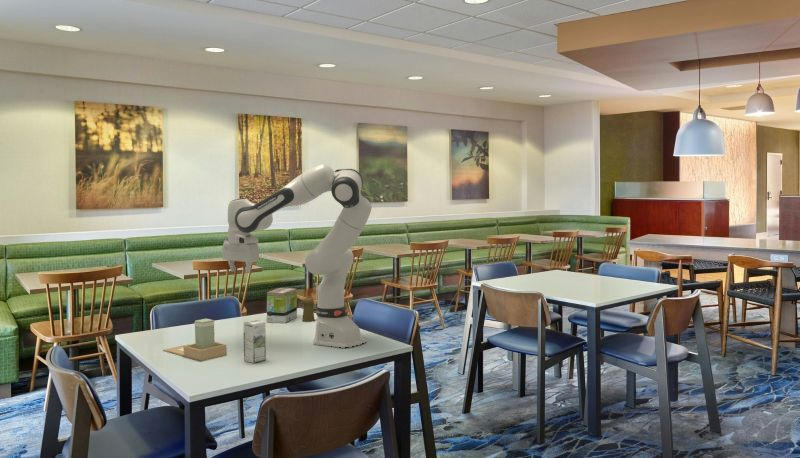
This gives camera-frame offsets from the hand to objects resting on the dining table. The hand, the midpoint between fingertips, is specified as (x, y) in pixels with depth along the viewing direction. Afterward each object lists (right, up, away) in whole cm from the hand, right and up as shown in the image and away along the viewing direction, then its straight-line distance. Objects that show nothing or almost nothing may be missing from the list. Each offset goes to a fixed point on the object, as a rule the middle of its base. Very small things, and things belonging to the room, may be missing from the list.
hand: (240, 272), depth 254 cm
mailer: (-14, -30, -15) cm, 36 cm away
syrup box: (+13, -31, -28) cm, 43 cm away
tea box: (+8, -27, +46) cm, 54 cm away
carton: (-8, -30, -20) cm, 37 cm away
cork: (+22, -27, +44) cm, 55 cm away
